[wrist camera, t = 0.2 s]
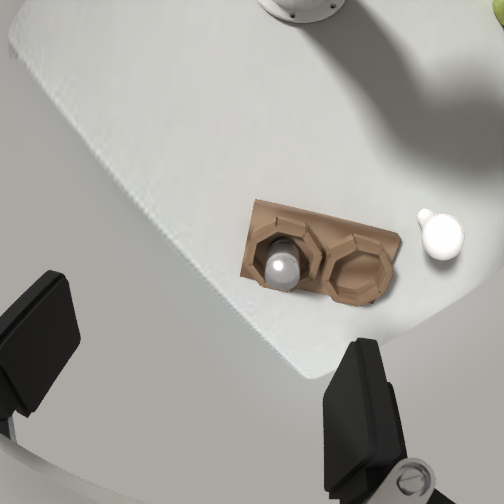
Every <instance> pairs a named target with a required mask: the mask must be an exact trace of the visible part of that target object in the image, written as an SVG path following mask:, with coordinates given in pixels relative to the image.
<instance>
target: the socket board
mask: <svg viewBox="0 0 504 504" xmlns="http://www.w3.org/2000/svg"><path fill="white" fill-rule="evenodd" d="M283 236H284V237H289V238H292V239H293V240H294V241H295V242H296V243H297V244H298V247H299V269H300V278H299V281H298V283H297V284H296V285H295V286H294V287H293V288H291V289H289V290H278V291H283V292H288V291H290V292H292V291H294V290H296V289H301V290H306V291H311V292H316V293H321V294H326V295H330V297H331V298H332V300H333V301H334V300H335V302H337V303H343V304H348V305H353V306H359V305H360V306H362V305H364V304H366V303H371V304H373V303H374V301H375V299H376V298H378V297H380V296H382V293H383V294H384V293H385V291H386V288H387V286H388V284H389V282H390V280H391V277H392V275H393V273H394V272H393V271H394V270H393V268H392V266H391V263H392V260H393V258H394V255H395V253H396V251H397V248H398V246H399V243H400V241H401V238H400V236H399V235H398V233H395V232H391V231H387V230H383V229H380V228H376V227H372V226H368V225H364V224H360V223H356V222H352V221H348V220H344V219H340V218H336V217H332V216H328V215H324V214H320V213H315V212H311V211H307V210H303V209H298V208H294V207H289V206H285V205H280V204H276V203H271V202H267V201H262V200H257V199H255V202H254V206H253V212H252V217H251V222H250V227H249V232H248V237H247V242H246V247H245V252H244V257H243V263H242V268H241V273H240V277H245V278H249V279H254V280H256V281H257V282H258V283H259V285H260V286H262V285H263V286H262V287H264V288H269V289H274V288H272V287H270V286H269V285H268V284H267V282H266V280H265V269H266V263H267V256H268V250H269V245H270V243H271V242H272V241H273V240H274V239H276V238H278V237H283ZM274 290H276V289H274Z"/></svg>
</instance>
